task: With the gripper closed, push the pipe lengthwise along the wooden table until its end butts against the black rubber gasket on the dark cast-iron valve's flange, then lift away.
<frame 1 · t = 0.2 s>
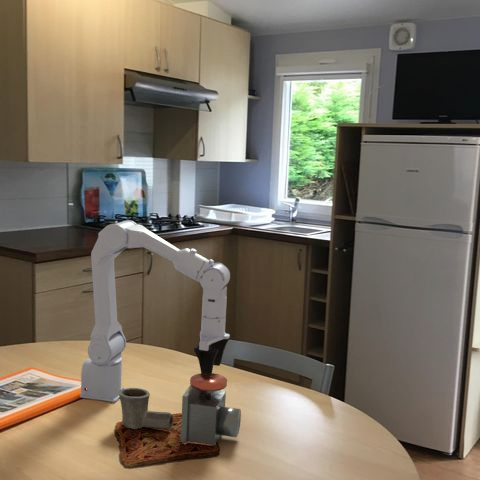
hand: (211, 370, 149), 10 cm above the table, fingers open, 7 cm apart
pipe: (144, 428, 140), on the table
valve: (206, 435, 137), on the table
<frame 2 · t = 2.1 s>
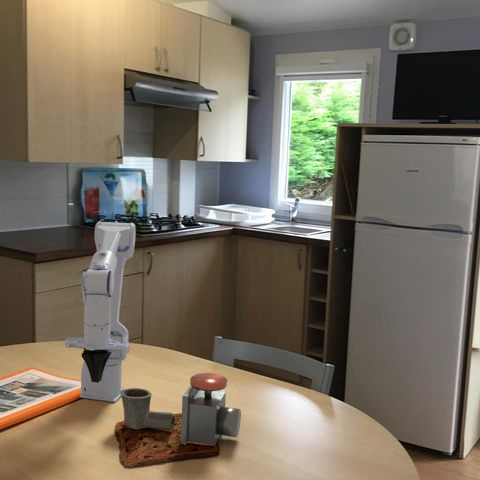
hand: (96, 380, 140), 9 cm above the table, fingers closed
nothing on the table moved.
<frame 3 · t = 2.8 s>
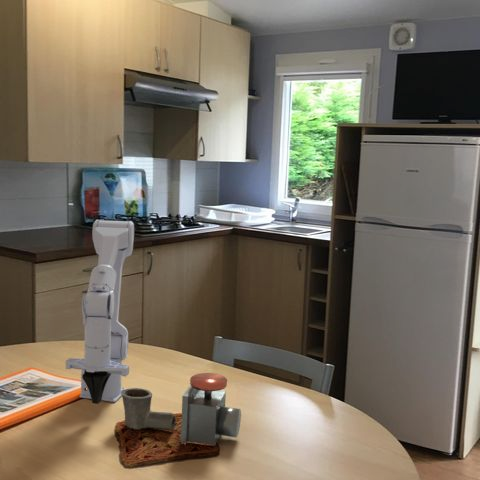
hand: (96, 401, 141), 4 cm above the table, fingers closed
nothing on the table moved.
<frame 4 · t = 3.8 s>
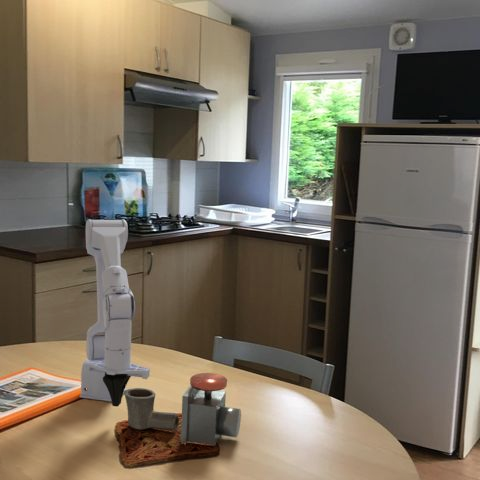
hand: (116, 404, 140), 4 cm above the table, fingers closed
pipe: (149, 428, 139), on the table, touching gripper
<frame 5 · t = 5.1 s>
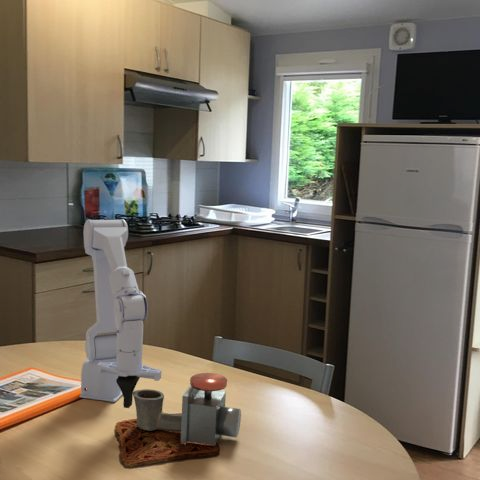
hand: (128, 406, 140), 4 cm above the table, fingers closed
pipe: (158, 430, 139), on the table, touching gripper, valve
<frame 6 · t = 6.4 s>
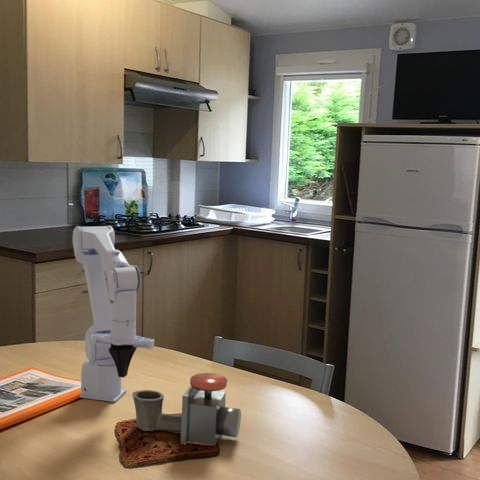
hand: (122, 375, 144), 9 cm above the table, fingers closed
pipe: (158, 430, 139), on the table
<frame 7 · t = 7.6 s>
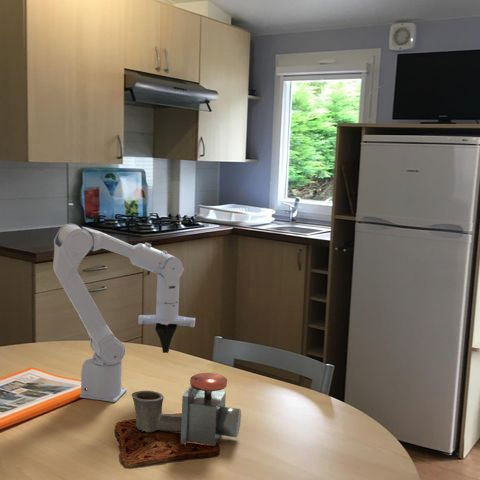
hand: (165, 351, 162), 9 cm above the table, fingers closed
pipe: (158, 431, 139), on the table, touching valve
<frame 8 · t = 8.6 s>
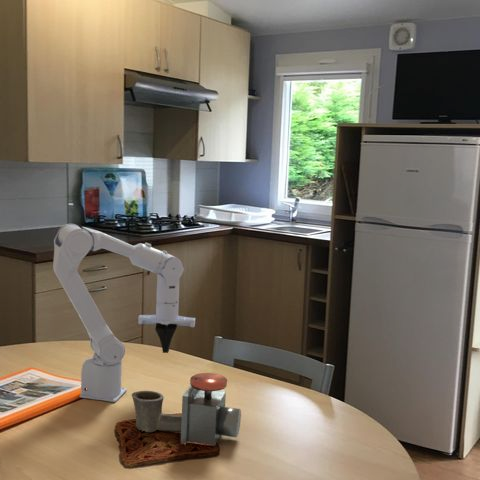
hand: (165, 351, 162), 9 cm above the table, fingers closed
pipe: (158, 431, 139), on the table
at the end: pipe 0.4 cm from the target spot, on the table; pipe tilted 0°; the gripper is holding nothing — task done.
